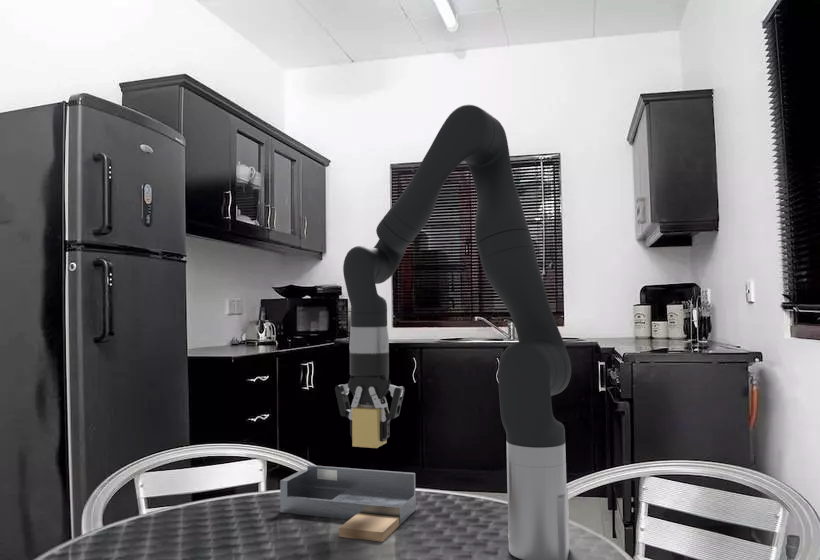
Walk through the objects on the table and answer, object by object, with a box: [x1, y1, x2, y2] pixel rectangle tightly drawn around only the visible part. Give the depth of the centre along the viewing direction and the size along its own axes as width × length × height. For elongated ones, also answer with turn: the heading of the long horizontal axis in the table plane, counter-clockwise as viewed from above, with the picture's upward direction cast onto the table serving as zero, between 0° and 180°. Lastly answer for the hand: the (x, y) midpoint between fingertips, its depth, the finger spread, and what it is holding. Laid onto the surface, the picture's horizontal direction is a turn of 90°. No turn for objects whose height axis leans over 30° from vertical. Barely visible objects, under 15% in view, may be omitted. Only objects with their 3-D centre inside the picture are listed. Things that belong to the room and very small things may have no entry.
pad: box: [338, 513, 400, 542], centre depth 106 cm, size 8×8×2 cm
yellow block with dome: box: [351, 403, 388, 449], centre depth 116 cm, size 5×5×8 cm
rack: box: [279, 464, 417, 526], centre depth 117 cm, size 24×9×7 cm, turn 71°
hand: (369, 439), depth 116 cm, fingers closed on yellow block with dome, 5 cm apart
